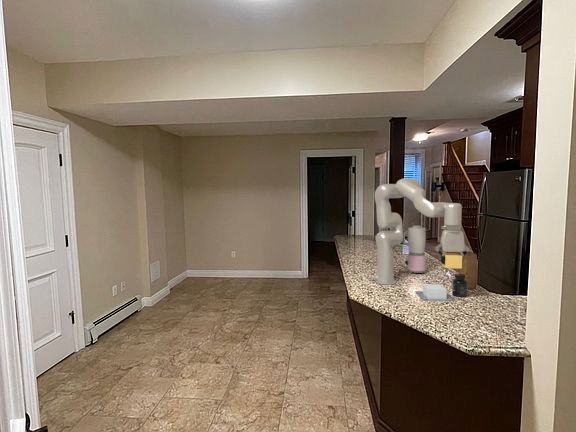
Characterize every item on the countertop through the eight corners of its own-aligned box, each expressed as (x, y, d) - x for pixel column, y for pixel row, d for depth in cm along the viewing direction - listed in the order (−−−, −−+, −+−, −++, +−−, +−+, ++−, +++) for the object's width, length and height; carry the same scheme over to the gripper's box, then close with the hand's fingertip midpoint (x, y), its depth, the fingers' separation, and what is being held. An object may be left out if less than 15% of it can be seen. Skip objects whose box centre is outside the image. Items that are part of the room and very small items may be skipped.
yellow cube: (446, 268, 160) (446, 255, 160) (441, 264, 167) (442, 253, 166) (461, 268, 159) (462, 256, 159) (456, 265, 166) (456, 253, 165)
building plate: (422, 302, 163) (422, 299, 163) (414, 293, 179) (414, 290, 179) (456, 303, 161) (456, 300, 161) (445, 293, 177) (445, 290, 176)
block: (478, 289, 182) (478, 254, 181) (464, 289, 183) (464, 254, 182) (469, 284, 193) (470, 250, 192) (456, 284, 194) (456, 250, 193)
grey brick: (427, 298, 166) (427, 288, 166) (422, 293, 175) (422, 284, 175) (446, 299, 165) (446, 289, 164) (440, 293, 174) (440, 284, 173)
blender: (423, 270, 231) (423, 225, 229) (428, 274, 219) (428, 226, 217) (400, 270, 233) (400, 225, 231) (404, 274, 221) (404, 226, 219)
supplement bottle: (449, 295, 173) (450, 273, 173) (463, 295, 173) (463, 272, 173) (456, 299, 167) (456, 276, 166) (469, 299, 166) (470, 276, 166)
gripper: (436, 229, 159) (435, 265, 160) (474, 229, 157) (473, 266, 158) (431, 227, 166) (430, 262, 168) (468, 227, 164) (467, 262, 165)
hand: (451, 263), depth 163 cm, fingers closed on yellow cube, 7 cm apart
